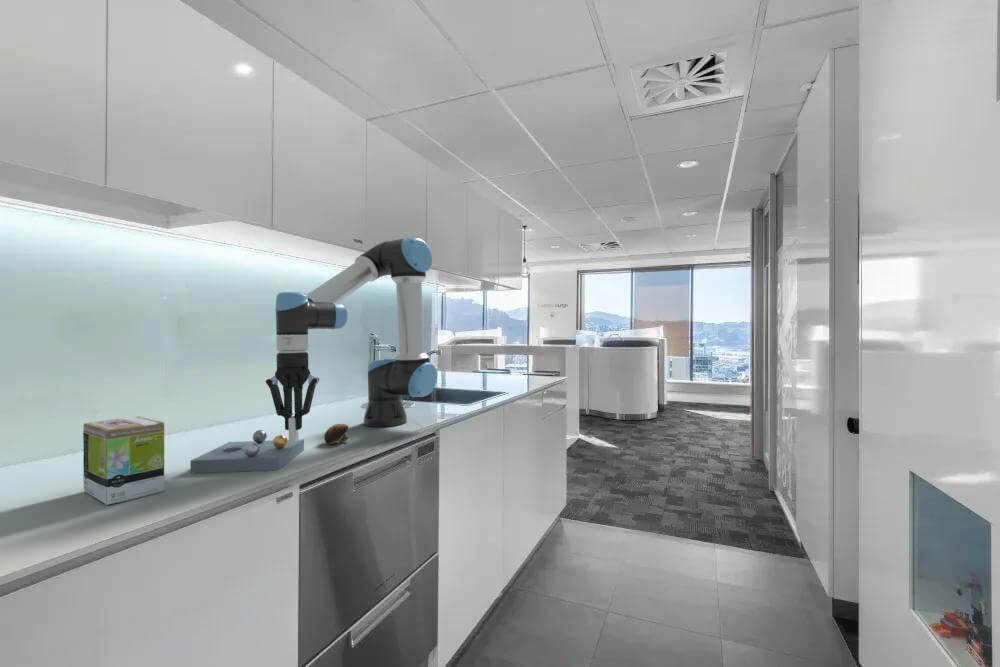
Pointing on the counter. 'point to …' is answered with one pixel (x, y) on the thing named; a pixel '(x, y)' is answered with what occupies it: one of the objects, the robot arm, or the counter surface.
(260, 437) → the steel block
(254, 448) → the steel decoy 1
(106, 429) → the tea box
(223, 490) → the counter surface
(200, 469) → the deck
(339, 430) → the mushroom
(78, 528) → the counter surface
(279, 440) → the copper ball
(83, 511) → the counter surface
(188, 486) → the counter surface
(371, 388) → the robot arm
